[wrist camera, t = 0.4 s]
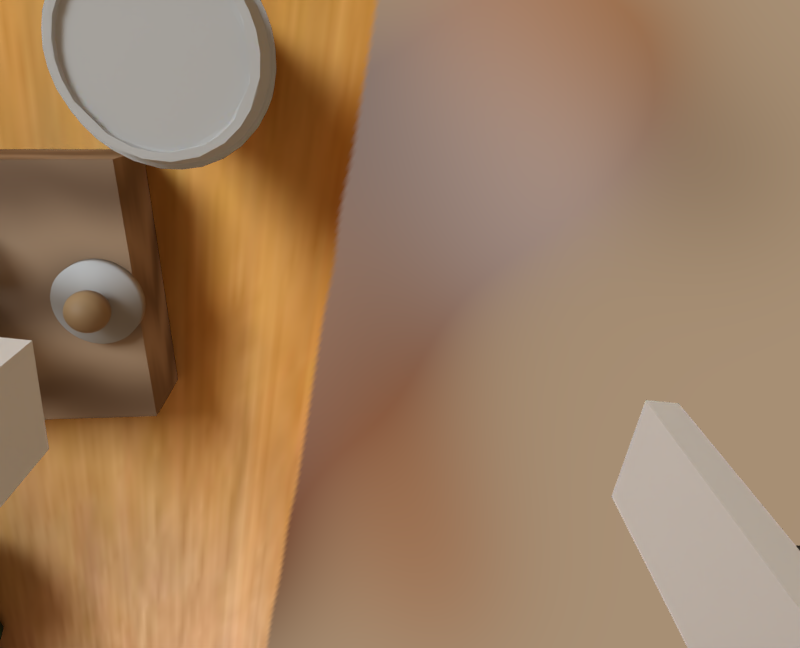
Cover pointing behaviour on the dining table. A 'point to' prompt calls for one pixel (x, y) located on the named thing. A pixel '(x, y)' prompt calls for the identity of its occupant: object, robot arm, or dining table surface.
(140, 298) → the base
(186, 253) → the dining table surface
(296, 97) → the dining table surface
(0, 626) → the toy figurine
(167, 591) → the dining table surface
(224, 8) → the disposable coffee cup
